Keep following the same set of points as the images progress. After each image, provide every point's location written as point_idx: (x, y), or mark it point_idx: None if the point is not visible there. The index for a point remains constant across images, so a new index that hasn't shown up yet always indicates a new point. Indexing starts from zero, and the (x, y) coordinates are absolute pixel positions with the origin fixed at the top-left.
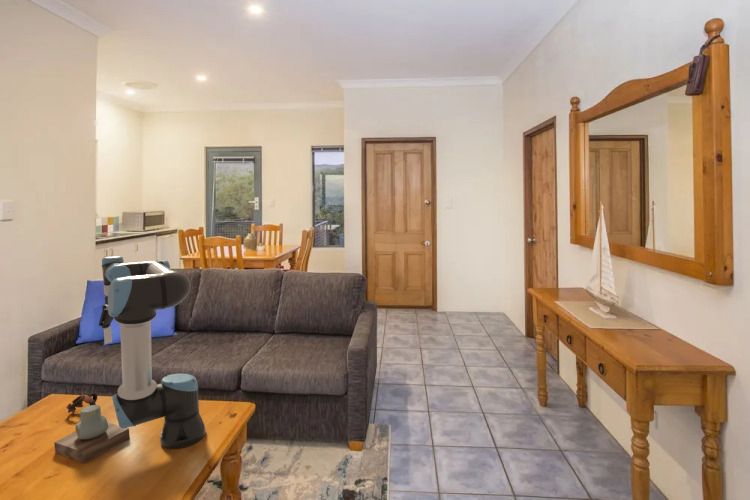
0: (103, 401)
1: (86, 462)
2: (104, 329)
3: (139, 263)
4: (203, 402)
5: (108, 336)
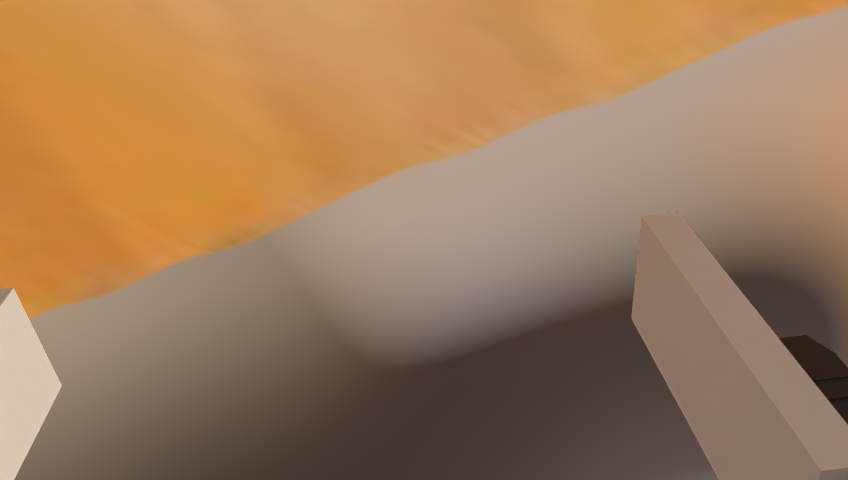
0: (643, 8)
1: None
2: (813, 445)
3: None
4: None
5: (687, 352)
